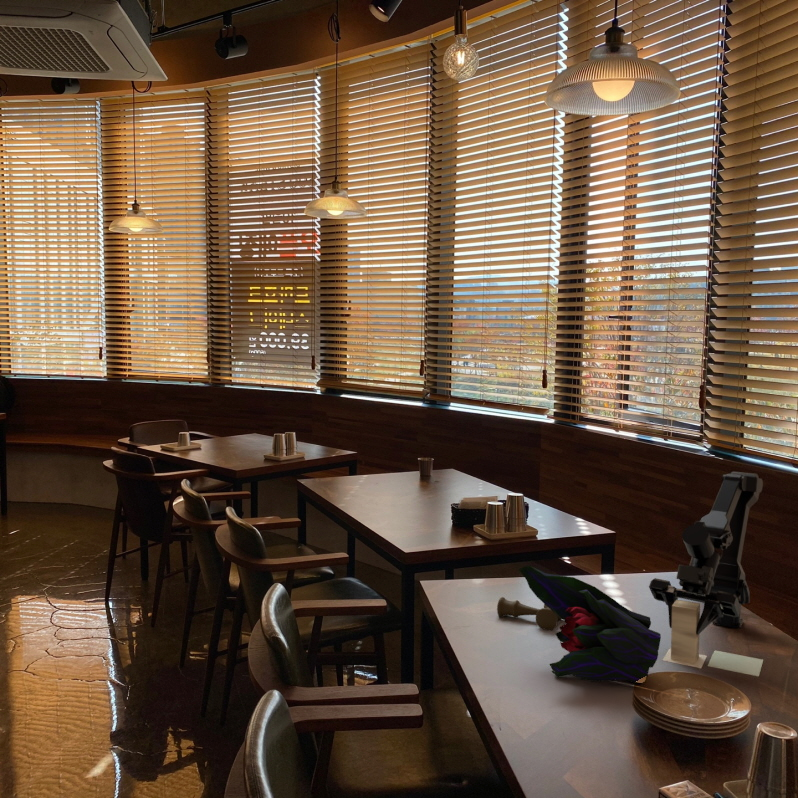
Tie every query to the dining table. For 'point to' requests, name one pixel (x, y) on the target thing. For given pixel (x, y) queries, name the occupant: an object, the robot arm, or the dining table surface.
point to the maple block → (685, 631)
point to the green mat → (736, 663)
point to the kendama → (528, 613)
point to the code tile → (698, 663)
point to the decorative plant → (595, 630)
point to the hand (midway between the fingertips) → (683, 630)
